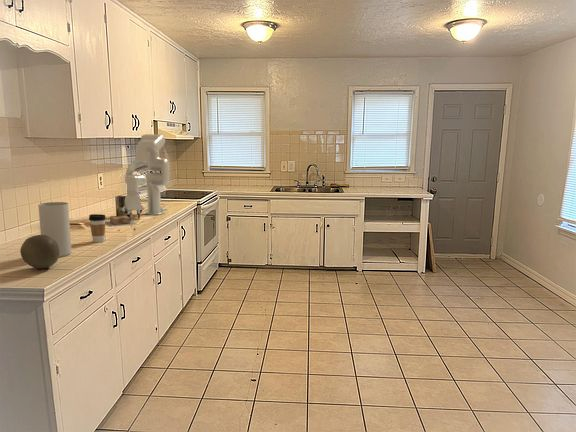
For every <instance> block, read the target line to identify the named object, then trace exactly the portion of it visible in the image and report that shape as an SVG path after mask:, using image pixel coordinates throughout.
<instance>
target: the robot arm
mask: <svg viewBox="0 0 576 432" xmlns="http://www.w3.org/2000/svg"><path fill="white" fill-rule="evenodd" d="M165 143H166V138H165V136H164V135H162V134H150V133H149V134H148V133H147V134H143V135H141V137H140V140H139V141H138V143H137V146H136V147H137V148H136V150H135V151H136V152H135V157H134V158H135V159H134V160H133V161H132V162H131V163H130V164H129V165H128V167H127V168H126V171H125V175H124V181H125V182H124V183H125V184H126V195H125V196H126V197H125V206H124V207H123V208H122V211H124V212H125V213H126V214H127V216H128V217H130V215H129V213H130V210H132V211H136V214H137V215H138V220H137V221H139V220H140V218H141V216H140V214H141V213H142V212H143V211H144V210H145V207H143V205H142V202H141V196H140V194H141V193H142V192H141V191H139V187H140V186H145V185H146V192H147V211H146V212H145V215H149V216H156V215H157V216H159V215H163V214H164V212H167V211H168V208H167V207H165V208H164V207H161V205H162V203H161V190H160V189H161V188H160V186H168V185H169V183H170V169H171V167H170V162H169V160H168V159H167V158H165V157H164V158H163V157H162V158H161V157H160V151H161V149H162V148H163V147H164V146H165ZM144 165H147V169H148V170H150V171H154V172H148V173H147V174H146V175H144V174H134V171H135V170H136V169H138V168H140V167H142V166H144ZM155 171H156V172H155ZM125 209H126V210H127V211H126V210H125Z"/></svg>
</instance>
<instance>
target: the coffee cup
mask: <svg viewBox="0 0 576 432" xmlns="http://www.w3.org/2000/svg"><path fill="white" fill-rule="evenodd" d="M88 217H89V218H88V220H89V226H90V232H91V238H92V243H95V244H96V243H98V244H99V243H104V242H105V239H106V238H105V236H106V224H105V222H106V220H107V219H106V215H105V214H95V213H94V214H92V213H91V214H89V215H88Z"/></svg>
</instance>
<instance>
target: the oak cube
mask: <svg viewBox="0 0 576 432" xmlns="http://www.w3.org/2000/svg"><path fill="white" fill-rule="evenodd" d="M129 215H130V220H131V221H139V220H138V215H137V213H132V214H129Z"/></svg>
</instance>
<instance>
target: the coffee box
mask: <svg viewBox="0 0 576 432" xmlns="http://www.w3.org/2000/svg"><path fill="white" fill-rule="evenodd" d="M126 196H127V195H117V196H115V199H114V200H115V216H123V215H126V216H127V214H126V213H125V212H124V211H122V208H123V207H124V206H125V197H126ZM125 210H126V209H125ZM126 211H127V210H126ZM129 214H133V210H130V213H129Z"/></svg>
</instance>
